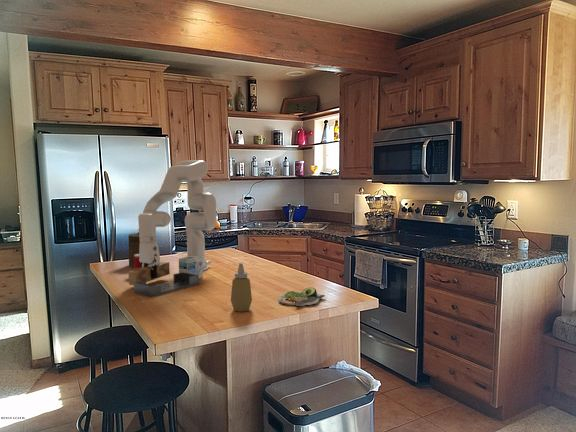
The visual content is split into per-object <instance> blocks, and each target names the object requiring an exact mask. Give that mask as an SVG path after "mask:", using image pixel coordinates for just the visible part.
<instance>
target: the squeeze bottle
mask: <svg viewBox="0 0 576 432" xmlns="http://www.w3.org/2000/svg"><path fill="white" fill-rule="evenodd" d="M251 289H252V288H251V280H250V278H249V277H248V272H247V271H245V268H244V263H243V262H240V263H239V264H238V268H237V271H236V272H235V273H234V278H232V283H231V294H230V303H231V306H232V308H233V311H235V312H243V313H244V312H248V311H249V310H250V308H251V306H252V305H251V304H252V302H253V298H252V290H251Z"/></svg>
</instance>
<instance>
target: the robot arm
mask: <svg viewBox="0 0 576 432" xmlns="http://www.w3.org/2000/svg"><path fill="white" fill-rule="evenodd" d="M208 172H209V165H208V163H207V162H206V161H205V160H202V159H201V160H200V159H197V160H193V159H192V160H190V159H187V160H182V161H179V162H178V164H176V165H172V166H170V167H169V168H168V169H167V171H166V174H165V176H164V179H163V182H162V183H161V186H160V189H159V190H158V191H157V192H156V193H155V194H154V195H153V196H152V197H150V199H149V200H148V201H147V202H146V204H145V206H144V209H143V212H142V213H139V214H138V216H137V220H138V229H139V230H138V232H139V238H140V246H139V257H140V259H139V261H140V263H141V265H142V268H143V267H146V266H148V264H150V266H151V270H150V271H151V278H156V277H157V269H158V266H159V265H160V262H161V257H160V250H159V249H160V248H159V244H158V242H157V229H156V228H164V227H167V226H168V225H170V222H171V221H172V220H171V219H172V218H171V215H170V214H169V213H168V212H166V211H162V210H161V211H159V210H158V209H159V208H160V207H161V206H162V205H163V204H165V203H168V202H170V201H172V200H174V199H175V198H176V197H177V195H178V193H179V191H180V188H181V185H182V183H186V185H187V206H188V208H189V209H190V210H193V211H194V210H195V211H203V212H190V213H188V214H186V215H185V218H184V226H185V230H186V252H187V256H186V257H189V256H193V255H194V256H200V257H203V272H204V271H206V270H209V266H208V265H210V264H212V260H210V259H209V260H206V247H205V245H206V244H205V235H204V233H203V231H208V232H209V231H212V230H214V229H215V227H216V223H217V199H216V198H215V197H216V196H214V194H213V193H210V192H204V182H203V180H202V178H203V177H205V176H206V175H208V174H207V173H208ZM153 262H154V263H153ZM153 264H154V266H153Z"/></svg>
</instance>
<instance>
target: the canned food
mask: <svg viewBox="0 0 576 432" xmlns="http://www.w3.org/2000/svg"><path fill="white" fill-rule="evenodd" d="M139 259H140V257H139V254H135V255H134V266H135V268H134V270H136V269H139V268H142V265H141V263H140V261H139ZM149 265H150V264H148V266H149Z"/></svg>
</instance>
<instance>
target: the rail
mask: <svg viewBox="0 0 576 432" xmlns="http://www.w3.org/2000/svg"><path fill="white" fill-rule="evenodd" d="M153 266H154V264H153ZM150 270H151V266H150V265H149V266H146V267H143V268H139V269H136V270H135V269H133V270H130V271H128V284H129V285H130V286H134V283H136V282H141V281H146V283H149V282H151V281H154V280H157V279H160V278H162V277H165V276H168V275H170V274H171V271H170V261H160V265H159V266H158V269H157V277H156V278H151V271H150Z"/></svg>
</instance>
